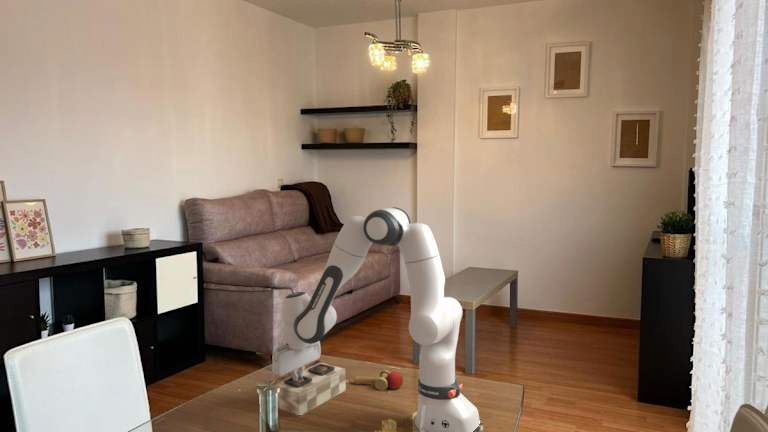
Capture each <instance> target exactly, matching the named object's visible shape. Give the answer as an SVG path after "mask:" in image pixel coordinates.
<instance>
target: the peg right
mask: <svg viewBox="0 0 768 432" xmlns="http://www.w3.org/2000/svg"><path fill="white" fill-rule="evenodd" d="M326 369H327V367H325V366H320V367H317V368H316V370H318V371H324V370H326Z"/></svg>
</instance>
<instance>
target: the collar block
mask: <svg viewBox="0 0 768 432" xmlns="http://www.w3.org/2000/svg"><path fill="white" fill-rule="evenodd" d="M320 366H325V367H327V369H326V370H324V371H318V370H316V368H317V367H320ZM308 367H309V366H308ZM308 367H307V368H305V369H304V372H303V374H302V375H303V378H304V381H302V382H300V383H295V382H292V379H293V376H290V377H288V376H287V377H286V378H284V379H281V380H280V381H278V382H276V383H275V382H274V383H273V384H272V386H273V385H277V386H279V387H280V392H279V405H280V408H282V409H284V410H287V411H289V412H292V413H295V414H297V415H296V416H298V415H301V416H303V415H305V414H307V413H309V412H310V411H312V410H314V409H315V408H317V407H319V406H321V405H323V404H324V403H326V402H327V401H329V400H331V399H333V398H336V396H338V395H340V394H342V393H344V392H345V391H347V384H346V383H347V380H346V368H344V367H339V366H337V365H336V366H335V365H333V364H332V365H331V364H329V363H328V364H327V363H325V362H322V363H321V362H320V363H317V364H315V365H313V366H311V367H309V368H308ZM289 412H288V413H289ZM292 413H291V414H292ZM295 414H294V415H295Z"/></svg>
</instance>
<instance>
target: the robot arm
mask: <svg viewBox="0 0 768 432" xmlns="http://www.w3.org/2000/svg"><path fill="white" fill-rule="evenodd" d="M372 244H376V245H378V246H379V245H380V246H391V247H395V246H398V247H399V249H400V251H401V254H402V257H403V262H404V265H405V266H404V267H405V271H406V275H407V278H408V283H409V289H410V320H409V323H408V332H409V334H410V336H411V339H412V340H413V341H414V342H416V343H417V344H419V345H422V346H421V350H420V353H419V357H418V358H419V361H418V362H419V365H418V366H419V367H418V369H419V373H418V374H419V378H417V379H418V380H417V383H418V384H417V392H418V404H417V412H416V416H415V419H414V425H415V427H416V428H417V429H418V432H473V431H474V430H475V429H476V428H477V427H478V426H479V424H480V421H481V420H480V415H479V410H478V408H477V406H475V405H474V404H473V403H472V402H471V401H469V400H468V398H467V397H465V395H464V394H462V392H461V389H462V388H463V383H461V384H458V381H457V379H456V352H457V346H458V341H459V333H460V325H461V322H462V318H463V314H464V313H463V307H462V305H461V304H460V302H459V301H458V300H457V299H456V298H453V297H451V296H445V284H446V276H445V273H444V269H443V263H442V260H441V254H440V251H439V248H438V245H437V241H436V239H435V237H434V235H433V232H432V230H431V227H429V225H427V224H425V223H422V222H414V223H411V217H410V216H409V215H408V213H407V212H406V211H405V210H403V209H401V208H400V207H396V206H395V207H393V206H392V207H382V208H379V209H376V210H374V211H372V212H371V213H370V214H368V215H367V216H366V217H364V216H361V215H352V216H350V217H349V218H347V219H346V221H345V223H344V224H343V226H342V227H341V229H340V231H339V233H338V234H337V236H336V239H335V240H334V243H333V245H332V247H331V251H330V253H329V256H328V259H327V261H326V264H325V267H324V269H323V272H322V275H321V277H320V279H319V282H318V283H317V286H316V288H315V289H314V292H313V293H312V296H310V295H309V294H308V293H307V292H305V291H298V292H293V293H290V294H288V295H286V296H285V297H284V298H283V301H282V309H281V310H282V311H281V313H282V314H281V316H282V317H281V319H282V323H283V330H282V341H283V342H282V343H283V345H281V346H279V347H277V348H276V349H275V351H273V356H272V366H271V367H272V368H271V369H272V374H273V375H274V376H277V377H283V376H284V375H288V373H289V372H291V374H292V376H293V380H294V381H298V380H300V379H302V378H303V375H302V374H303V372H304V370H305V369H306V365H308V364H310V363H314V362H316V361H317V360H320V357H321V354H322V348H321V341H320V340H321V339H322V338H323V336H324V335H326V334H327V333H328V332H329V331H330V330H331V329H332V328H333V327H334V326H335V325H336V324H337V320H338V313H337V311H336V308H335V307H334V306H333V305H332V303H333V301H334V299H335V296H336V294H338V291H339V290H340V289H341V288H342V287H343V286H344V285H345V284H346V283H347V282H348V281H349V280H350V279H352V278H353V277H354V275H356V273H358V271H359V269H360V268H361V267H362V265H363V263H364V262H365V260H366V257H367V255H368V252H369V250H370V248H371V246H372ZM297 370H298V372H297ZM296 372H297V373H296Z"/></svg>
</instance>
